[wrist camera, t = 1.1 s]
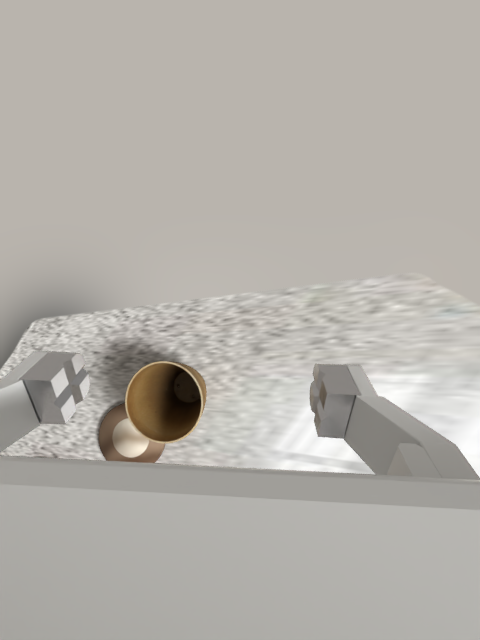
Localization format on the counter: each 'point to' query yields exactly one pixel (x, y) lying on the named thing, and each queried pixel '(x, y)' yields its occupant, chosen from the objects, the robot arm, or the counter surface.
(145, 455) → the disc
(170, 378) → the plant pot
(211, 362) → the counter surface
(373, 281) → the counter surface
